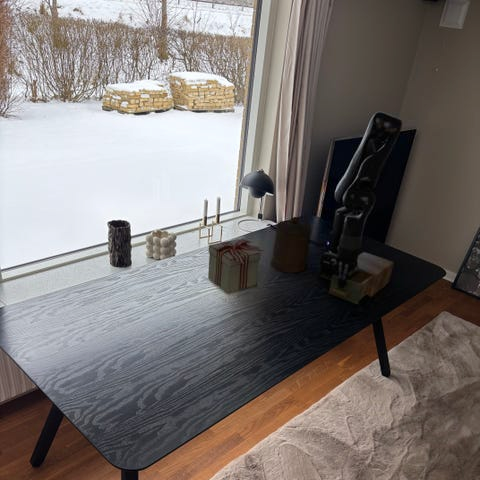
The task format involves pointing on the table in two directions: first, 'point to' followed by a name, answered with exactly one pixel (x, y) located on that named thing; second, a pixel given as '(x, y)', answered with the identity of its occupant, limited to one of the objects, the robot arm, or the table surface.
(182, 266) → the table surface
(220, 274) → the gift box
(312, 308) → the table surface
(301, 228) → the wooden container
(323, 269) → the battery charger
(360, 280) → the drawer
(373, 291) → the cabinet
